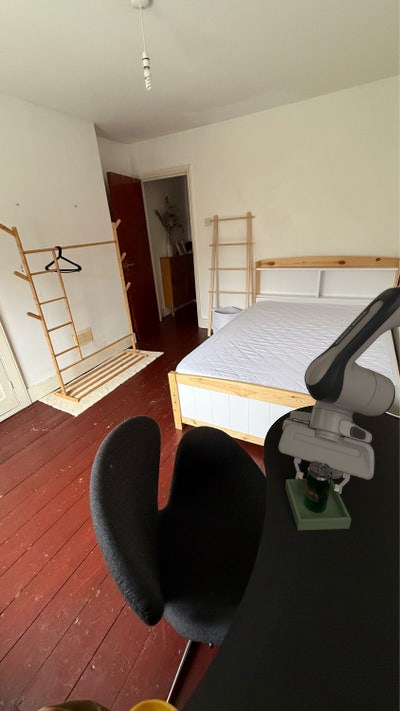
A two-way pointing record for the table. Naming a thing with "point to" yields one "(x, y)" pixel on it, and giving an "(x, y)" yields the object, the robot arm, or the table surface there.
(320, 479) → the soda can
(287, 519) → the table surface
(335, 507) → the tray
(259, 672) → the table surface
